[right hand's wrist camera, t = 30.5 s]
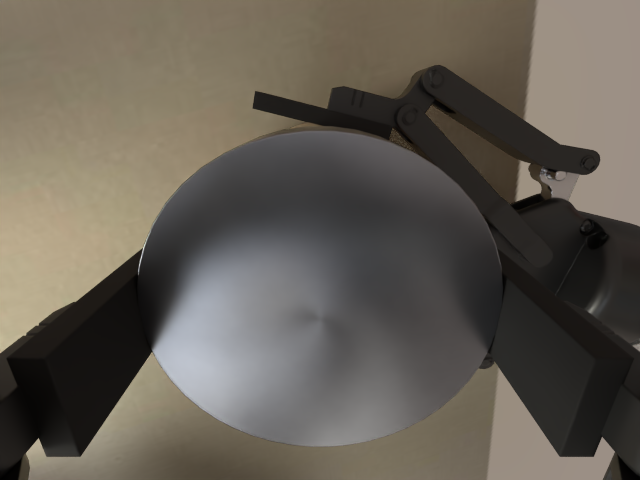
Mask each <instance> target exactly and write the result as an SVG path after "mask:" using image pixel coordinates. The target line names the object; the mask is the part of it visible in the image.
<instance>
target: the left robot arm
mask: <svg viewBox="0 0 640 480" xmlns="http://www.w3.org/2000/svg"><path fill="white" fill-rule="evenodd" d="M431 105H433V106H434V107H436V108H437V109H439V110H441V111H442V112H444V113H445V114H447V115H448V116H450V117H451V118H453V119H455V120H456V121H458V122H459V123H461V124H462V125H464V126H465V127H467V128H469V129H470V130H472V131H473V132H475V133H476V134H478V135H479V136H481V137H483V138H484V139H486V140H487V141H489V142H490V143H492V144H493V145H495V146H497V147H498V148H500V149H501V150H503V151H504V152H506V153H508V154H509V155H511V156H513V157H514V158H516V159H519V160H521V161H524V162H528V163H531V164H530V166H529V168H528V169H529V172H530V175H531V177H532V178H533V179H534V180H536V181H538V182H539V183H540V184H541V187H542V191H541V193H540V194H536V195H533V196H530V197H528V198H525V199H523V200H520V201H517V202H514V203H512V204H509V203H508V202H507V201H506V200H504V199H503V198H502V197H501V196H499V195H498V194H497V192H496V191H495V190H494V189H493V188H492V187H491V186H490V185H489V184H488V183H487V181H486V180H485V179H484V178H483V177H482V176H481V175H480V174H479V173H478V171H477V170H476V169H475V168H474V167H473V166H472V165H471V164H470V163H469V162H468V160H467V159H466V158H465V157H464V156H463V155H462V154H461V153H460V152H459V151H458V149H457V148H456V147H455V146H454V145H453V144H452V143H451V142H450V141H449V140H448V138H447V137H446V136H445V135H444V134H443V133H442V132H441V131H440V130H439V128H438V127H437V126H436V125H435V124H434V123H433V122H432V121H431V120H430V119H429V117H428V116H427V115H426V114H425V113H426V111H427V110H428V108H429V107H430V106H431ZM253 109H257V110H261V111H265V112H269V113H273V114H277V115H281V116H285V117H289V118H293V119H297V120H301V121H305V122H309V123H313V124H317V125H321V126H334V127H341V128H348V129H355V130H359V131H363V132H366V133H370V134H373V135H377V136H380V137H382V138H385V139H387V140H389V137H390V134H391V131H392V128H394V129H395V130H396V131H397V132H398V133H399V134H400V135H401V136H402V137H403V138H404V140H405V141H406V142H407V143H408V144H409V145H410V146H411V147H412V148H413V149H414V150H415V151H416V152H417V153H418V154H419V155H420V156H421V157H423V158H424V159H426V160H428V161H429V162H431V163H432V164H434V165H436V166H437V167H439V168H440V169H441V170H442V171H443V172H445V173H446V174H447V175H448V176H449V177H450V178H452V179H453V180H454V181H455V182H456V183H457V184H458V185H459V186H460V187H461V188H462V189H463V190H464V192H465V193H466V194H467V195H468V196H469V197H470V198H471V200H472V201H473V202H474V203H475V205H476V206H477V208H478V210H479V211H480V213H481V214H482V216H483V218H484V219H485V221H486V222H487V224H488V227H489V229H490V231H491V234H492V236H493V238H494V241H495V243H496V246H497V248H498V249H499V250H500V251H502V252H503V253H504V254H505V255H507V256H508V257H509V258H510V259H512V260H513V261H514V262H515V263H517V264H518V265H519V266H520V267H521V268H523V269H524V270H525V271H526V272H528V273H529V274H530V275H531V276H533V277H534V278H535V279H536V280H538V281H539V282H540V283H541V284H543V285H544V286H545V287H546V288H548V289H549V290H550V291H551V292H553V293H554V294H555V295H556V296H557V297H559V298H560V299H561V300H562V301H568V302H570V303H572V304H574V305H576V306H578V307H580V308H582V309H584V310H586V311H588V312H589V313H590V314H592V315H593V316H594V317H596V318H597V319H598V320H600V321H601V322H602V325H606V326H607V327H609V328H610V329H611V330H613V331H614V333H615V334H618V335H619V336H620V337H622V338H623V339H624V340H626V341H627V342H628V343H629V344H631V345H632V346H633V347H635V348H636V349H637V350H639V351H640V227H639V226H637V225H634V224H630V223H626V222H622V221H618V220H614V219H610V218H606V217H602V216H598V215H594V214H590V213H585V212H581V211H578V210H576V209H575V208H574V206H573V205H572V204H571V203H570V202H569V201H568V200H569V197H570V195H571V193H572V191H573V188H574V186H575V184H576V182H577V179H578V177H579V175H580V174H581V175H587V174H590V173H592V172H593V171H594V170H596V168H597V167H598V165H599V162H600V156H599V154H598V153H597V152H596V151H594V150H589V149H583V148H577V147H571V146H566V145H560V144H559V143H557V142H556V141H554V140H553V139H551V138H550V137H548V136H547V135H545V134H544V133H542V132H541V131H539V130H538V129H536V128H535V127H533V126H532V125H530V124H529V123H527V122H526V121H524V120H523V119H521V118H520V117H518V116H517V115H515V114H514V113H512V112H511V111H509V110H508V109H506V108H505V107H503V106H502V105H500V104H499V103H498V102H496V101H495V100H493V99H492V98H490V97H489V96H487V95H486V94H484V93H483V92H481V91H480V90H478V89H477V88H475V87H474V86H472V85H471V84H469V83H468V82H466V81H465V80H463V79H462V78H460V77H459V76H457V75H456V74H454V73H453V72H451V71H450V70H448V69H447V68H445V67H443V66H441V65H435V66H432V67H429V68H426V69H423V70H420V71H418V72H416V73H415V74H414V75H413V76H412V79H411V81H410V83H409V85H408V86H407V88H406V89H405V91H404V92H403V93H402V95H401V96H399V97H398V98H396V99H390V98H387V97H383V96H379V95H375V94H371V93H368V92H364V91H360V90H356V89H352V88H349V87H345V86H343V87H337V88H332V90H331V94H330V99H329V103H328V107H327V109H325V108H321V107H317V106H313V105H309V104H305V103H301V102H297V101H293V100H289V99H286V98H282V97H278V96H274V95H270V94H266V93H262V92H257V91H255V97H254V103H253ZM493 364H494V359H493V358H492V357H491V355H490V354H489V352H487V354H486V356H485V358H484V359H483V361H482V363H481V365H480V366H479V368H480V369H486V368H489V367H491V366H492V365H493Z"/></svg>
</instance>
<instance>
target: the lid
mask: <svg viewBox="0 0 640 480" xmlns="http://www.w3.org/2000/svg"><path fill="white" fill-rule="evenodd" d="M137 295H138V305H139V310H140V315H141V319H142V324H143V328H144V332H145V335H146V338H147V341H148V343H149V346H150V348H151V350H152V352H153V354H154V355H155V357H156V359H157V361H158V363H159V365H160V366H161V367H162V369H163V370H164V371H165V373H166V374H167V376H168V377H169V378H170V380H171V381H172V382H173V383H174V384H175V385H176V386H177V387H178V388H179V390H180V391H181V392H182V393H183V394H184V395H185V396H186V397H188V398H189V399H190V400H191V401H192V402H193V403H195V404H196V405H197V406H198V407H199V408H201V409H202V410H204V411H205V412H207V413H208V414H210V415H211V416H213V417H214V418H216V419H217V420H219V421H221V422H223V423H225V424H227V425H229V426H231V427H233V428H235V429H237V430H240V431H242V432H245V433H247V434H250V435H252V436H255V437H259V438H262V439H266V440H269V441H273V442H279V443H284V444H289V445H298V446H309V447H332V446H342V445H351V444H357V443H362V442H367V441H371V440H375V439H378V438H382V437H385V436H388V435H391V434H393V433H396V432H398V431H401V430H403V429H406V428H408V427H410V426H412V425H413V424H415V423H417V422H419V421H421V420H423V419H425V418H426V417H428V416H429V415H431V414H432V413H434V412H435V411H437V410H438V409H440V408H441V407H442V406H443V405H444V404H446V403H447V402H448V401H449V400H450V399H452V398H453V397H454V396H455V395H456V394H457V393H458V392H459V391H460V390H461V389H462V388H463V387H464V386H465V385H466V383H467V382H468V381H469V380H470V379H471V377H472V376H473V375H474V373H475V372H476V370H477V369H478V368H479V366H480V365H481V363H482V361H483V359H484V358H485V356H486V354H487V352H488V350H489V349H490V346H491V344H492V341H493V338H494V336H495V333H496V330H497V325H498V321H499V317H500V312H501V307H502V298H503V280H502V268H501V263H500V259H499V255H498V250H497V246H496V243H495V241H494V238H493V236H492V234H491V231H490V229H489V227H488V224H487V222H486V221H485V219H484V218H483V216H482V214H481V213H480V211H479V210H478V208H477V206H476V205H475V203H474V202H473V201H472V200H471V198H470V197H469V196H468V195H467V194H466V193H465V192H464V190H463V189H462V188H461V187H460V186H459V185H458V184H457V183H456V182H455V181H454V180H453V179H452V178H450V177H449V176H448V175H447V174H446V173H445V172H443V171H442V170H441V169H440V168H439V167H437V166H436V165H434V164H432V163H431V162H429V161H428V160H426V159H424V158H423V157H421V156H420V155H418V154H416V153H415V152H412V151H411V150H408V149H406V148H404V147H402V146H400V145H398V144H396V143H394V142H391V141H389V140H387V139H385V138H382V137H380V136H377V135H373V134H370V133H366V132H363V131H359V130H355V129H348V128H341V127H334V126H306V127H299V128H292V129H285V130H281V131H277V132H274V133H270V134H267V135H263V136H260V137H258V138H256V139H253V140H251V141H249V142H247V143H244V144H242V145H240V146H238V147H236V148H234V149H232V150H230V151H228V152H226V153H224V154H222V155H220V156H219V157H217V158H216V159H214V160H213V161H211V162H209V163H208V164H206V165H205V166H203V167H201V168H200V169H199V170H198V171H197V172H196V173H194V174H193V175H192V176H191V177H190V178H189V179H187V180H186V181H185V182H184V183H183V184H182V185H181V186H180V187H179V188H178V189H177V190H176V192H175V193H174V194H173V195H172V196H171V197H170V199H169V200H168V201H167V202H166V203H165V205H164V206H163V208H162V210H161V211H160V213H159V215H158V216H157V218H156V219H155V221H154V223H153V225H152V227H151V229H150V232H149V234H148V236H147V239H146V241H145V244H144V247H143V251H142V255H141V259H140V263H139V270H138V282H137Z"/></svg>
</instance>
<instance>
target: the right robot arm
mask: <svg viewBox="0 0 640 480" xmlns="http://www.w3.org/2000/svg"><path fill="white" fill-rule="evenodd" d="M497 250H498V255H499V259H500V263H501V268H502V280H503V298H502V307H501V312H500V317H499V321H498V325H497V330H496V333H495V336H494V338H493V341H492V344H491V346H490V349H489V350H488V352H489V354H490V355H491V357H492V358H493V359H494V361H495V362H496V364H497V365H498V367H499V368H500V370H501V371H502V373H503V374H504V376H505V377H506V378H507V380H508V381H509V383H510V384H511V386H512V387H513V389H514V390H515V392H516V393H517V395H518V396H519V397H520V399H521V400H522V402H523V403H524V405H525V406H526V408H527V409H528V411H529V412H530V414H531V415H532V417H533V418H534V420H535V421H536V422H537V424H538V425H539V427H540V428H541V430H542V431H543V433H544V434H545V436H546V437H547V439H548V440H549V442H550V443H551V445H552V446H553V447H554V449H555V450H556V452H557V453H558V455H559V456H560V457H594V455H595V452H596V450H597V447H598V445H599V443H600V440H601V438H602V437H603V438H604V439H605V440H606V442H607V443H608V444H609V445H610V446H611V447H612V449H613V450H614V451H615V453H614V456H613V458H612V460H611V462H610V465H609V467H608V469H607V471H606V474H605V476H604V478H603V480H640V351H639V350H637V349H636V348H635V347H633V346H632V345H631V344H629V343H628V342H627V341H626V340H624V339H623V338H622V337H620V336H619V335H618V334H615V333H614V331H613V330H611V329H610V328H609V327H607V326H606V325H602V322H601V321H600V320H598V319H597V318H596V317H594V316H593V315H592V314H590V313H589V312H588V311H586V310H584V309H582V308H580V307H578V306H576V305H574V304H572V303H570V302H568V301H562V300H561V299H560V298H559V297H557V296H556V295H555V294H554V293H553V292H551V291H550V290H549V289H548V288H546V287H545V286H544V285H543V284H541V283H540V282H539V281H538V280H536V279H535V278H534V277H533V276H531V275H530V274H529V273H528V272H526V271H525V270H524V269H523V268H521V267H520V266H519V265H518V264H517V263H515V262H514V261H513V260H512V259H510V258H509V257H508V256H507V255H505V254H504V253H503V252H502V251H500V250H499V249H498V248H497ZM142 251H143V248H142V249H141V250H140V251H139V252H137V253H136V254H135V255H134V256H132V257H131V258H130V259H129V260H127V261H126V262H125V263H124V264H122V265H121V266H120V267H119V268H118V269H116V270H115V271H114V272H113V273H111V274H110V275H109V276H108V277H106V278H105V279H104V280H103V281H101V282H100V283H99V284H98V285H96V286H95V287H94V288H93V289H91V290H90V291H89V292H88V293H86V294H85V295H84V296H83V297H82V298H80V299H79V300H78V301H77V302H73V303H71V304H69V305H67V306H65V307H63V308H61V309H59V310H57V311H55V312H53V313H52V314H51V315H49V316H48V317H47V318H45V319H44V320H43V321H42V322H40V323H39V326H35V327H34V328H33V329H31V330H30V331H29V332H27V333H26V336H22V337H21V338H20V339H18V340H17V341H16V342H14V343H13V344H12V345H11V346H9V347H8V348H7V349H5V350H4V351H3V352H2V353H0V480H28V476H29V470H30V466H29V460H28V458H27V456H26V452H27V451H28V450H29V449H30V447H31V446H32V445H33V444H34V443H35V441H36V440H37V439H38V438H39V439H40V442H41V444H42V447H43V449H44V452H45V454H46V456H47V457H81V455H82V454H83V452H84V451H85V449H86V448H87V446H88V445H89V443H90V442H91V440H92V439H93V438H94V436H95V435H96V433H97V432H98V430H99V429H100V427H101V426H102V424H103V423H104V421H105V420H106V418H107V417H108V416H109V414H110V413H111V411H112V410H113V408H114V407H115V405H116V404H117V402H118V401H119V399H120V398H121V396H122V395H123V394H124V392H125V391H126V389H127V388H128V386H129V385H130V383H131V382H132V380H133V379H134V377H135V376H136V374H137V373H138V372H139V370H140V369H141V367H142V366H143V364H144V363H145V361H146V360H147V358H148V357H149V355H150V354H151V352H152V350H151V348H150V346H149V343H148V341H147V338H146V335H145V332H144V328H143V324H142V319H141V315H140V310H139V305H138V295H137V282H138V270H139V263H140V259H141V255H142Z"/></svg>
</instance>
